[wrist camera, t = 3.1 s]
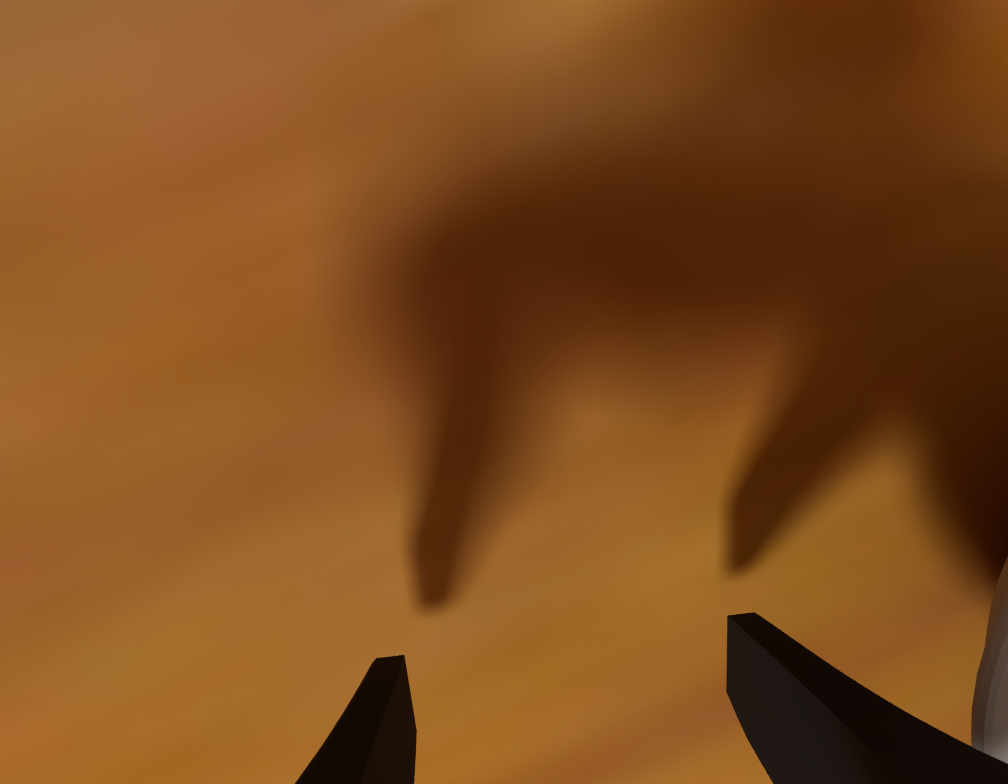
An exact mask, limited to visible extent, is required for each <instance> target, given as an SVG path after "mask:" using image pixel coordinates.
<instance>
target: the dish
mask: <svg viewBox="0 0 1008 784" xmlns="http://www.w3.org/2000/svg"><path fill="white" fill-rule="evenodd" d="M971 745H972V747H973V748H975V749H977V750H979V751H981V752H984V753H986V754H988V755H990V756H992V757H994V758H997V759H999V760H1001V761H1003V762H1005V763H1007V764H1008V557H1007V559H1006V562H1005V564H1004V567H1003V569H1002V572H1001V574H1000V577H999V579H998V582H997V585H996V589H995V592H994V596H993V599H992V603H991V608H990V614H989V620H988V627H987V633H986V641H985V648H984V652H983V655H982V659H981V662H980V666H979V669H978V673H977V679H976V685H975V692H974V698H973V705H972V726H971Z"/></svg>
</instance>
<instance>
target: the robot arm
mask: <svg viewBox="0 0 1008 784" xmlns="http://www.w3.org/2000/svg"><path fill="white" fill-rule="evenodd" d="M726 692H727V694H728V696H729V699H730V701H731V703H732V706H733V708H734V710H735V713H736V715H737V717H738V719H739V722H740V724H741V726H742V728H743V730H744V732H745V735H746V737H747V739H748V741H749V742H750V744H751V746H752V748H753V750H754V751H755V753H756V755H757V756H758V758H759V760H760V762H761V763H762V765H763V767H764V768H765V770H766V772H767V774H768V775H769V777H770V779H771V780H772V782H773V784H1008V764H1007V763H1005V762H1003V761H1001V760H999V759H997V758H994V757H992V756H990V755H988V754H986V753H984V752H981V751H979V750H977V749H975V748H973V747H971V746H969V745H967V744H965V743H963V742H961V741H959V740H957V739H955V738H953V737H951V736H949V735H948V734H946V733H944V732H942V731H940V730H938V729H936V728H934V727H933V726H931V725H929V724H927V723H925V722H923V721H921V720H919V719H918V718H916V717H914V716H912V715H910V714H909V713H907V712H905V711H903V710H902V709H900V708H898V707H897V706H895V705H893V704H892V703H890V702H888V701H887V700H885V699H883V698H882V697H880V696H878V695H877V694H875V693H873V692H872V691H870V690H869V689H867V688H865V687H864V686H862V685H861V684H859V683H857V682H856V681H854V680H853V679H851V678H850V677H848V676H847V675H845V674H844V673H842V672H840V671H839V670H837V669H836V668H834V667H833V666H831V665H830V664H829V663H827V662H826V661H824V660H823V659H821V658H820V657H818V656H817V655H815V654H814V653H812V652H811V651H809V650H808V649H807V648H805V647H804V646H802V645H801V644H799V643H798V642H797V641H795V640H794V639H792V638H791V637H789V636H788V635H787V634H785V633H784V632H782V631H781V630H780V629H778V628H777V627H775V626H774V625H772V624H771V623H770V622H768V621H767V620H765V619H764V618H762V617H761V616H759V615H758V614H756V613H755V612H753V613H745V614H737V615H728V619H727V687H726ZM416 733H417V730H416V724H415V718H414V712H413V706H412V699H411V693H410V687H409V681H408V675H407V669H406V663H405V656H404V655H399V656H391V657H383V658H376V659H375V660H374V662H373V663H372V664H371V666H370V668H369V670H368V671H367V673H366V675H365V677H364V679H363V680H362V682H361V684H360V686H359V687H358V689H357V691H356V692H355V694H354V696H353V698H352V699H351V701H350V703H349V704H348V706H347V707H346V709H345V711H344V712H343V714H342V715H341V717H340V719H339V720H338V722H337V723H336V725H335V726H334V728H333V730H332V731H331V733H330V734H329V736H328V737H327V739H326V740H325V742H324V743H323V745H322V746H321V748H320V749H319V751H318V752H317V753H316V755H315V756H314V758H313V759H312V760H311V762H310V763H309V765H308V766H307V767H306V769H305V770H304V772H303V773H302V774H301V776H300V777H299V779H298V780H297V781H296V783H295V784H414V776H415V757H416Z"/></svg>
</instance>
